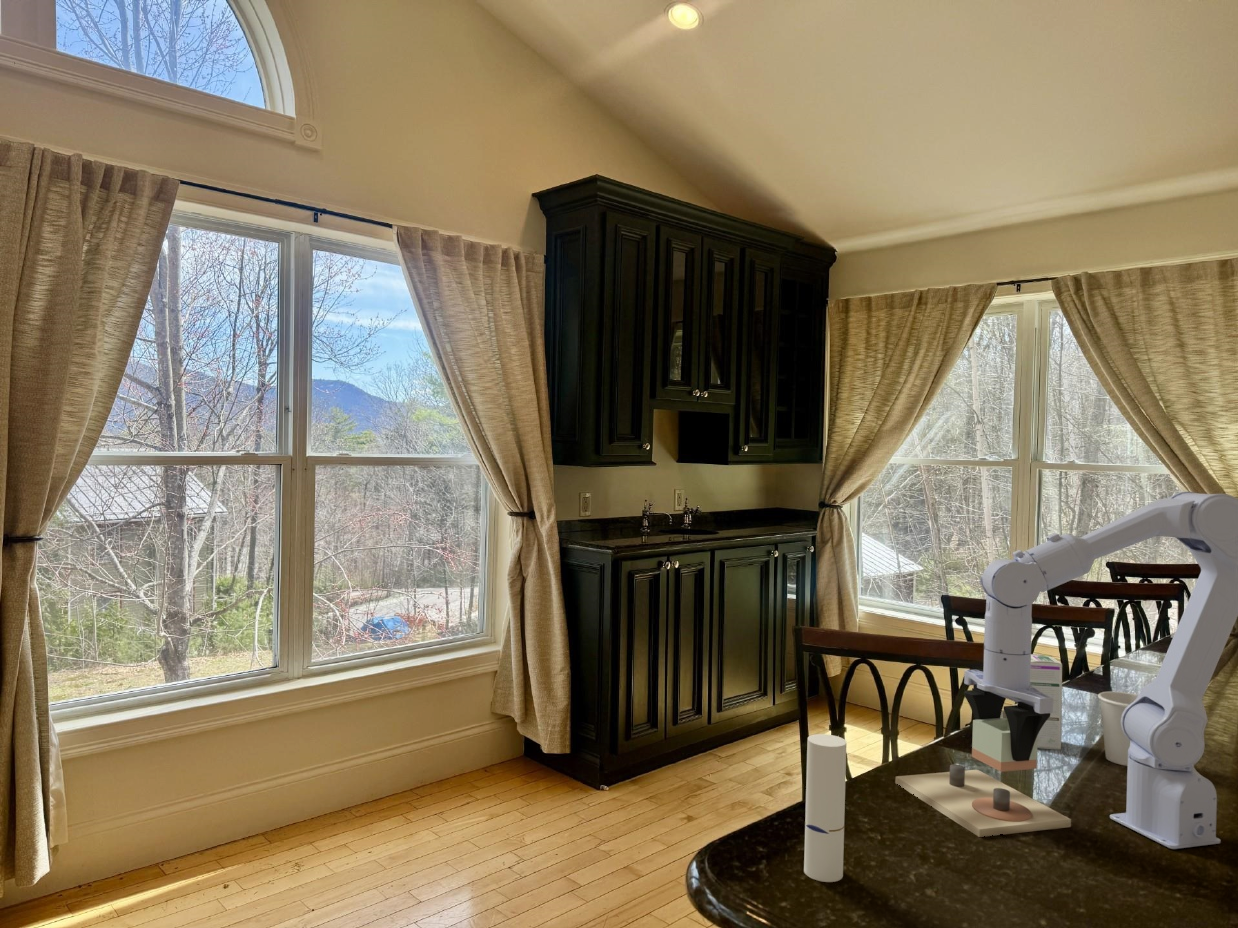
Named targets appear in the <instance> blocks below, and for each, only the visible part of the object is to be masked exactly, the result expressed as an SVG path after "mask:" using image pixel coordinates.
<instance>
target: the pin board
mask: <svg viewBox="0 0 1238 928" xmlns="http://www.w3.org/2000/svg"><path fill="white" fill-rule="evenodd" d="M894 782H895V784H896V785H897V784H898V785H897V786H899V785H900V786H901V787H900V786H899V787H900V788H902V789H903V788H904V790H906V791H907V792H908V793H909V794H912V795H913V794H914V795H913V796H915V797H916V798H917V797H918V798H917V799H919V800H921V801H922V802H924V803H925V804H927V805H928V806H930V807H931V806H932V808H933V809H935V810H936V811H938V812H939V813H941V814H943V815H944V816H946V817H948V819H950V820H952V821H953V822H955V823H956V824H958V825H959V826H961V827H963V828H965V829H966V830H968V831H969V832H970V833H973V835H975V836H977V837H978V838H982V837H984V836H985V837H990V836H991V837H993V836H1000V834H1003V835H1011V834H1019V833H1020V834H1021V833H1028V832H1037V831H1046V830H1057V829H1064V828H1071V827H1072V819H1071V818H1070V817H1068V816H1065V815H1063V814H1062V813H1060V812H1058V811H1057V810H1054V809H1052V808H1050V807H1049V806H1047V805H1046V804H1043V803H1042V802H1039V801H1038V800H1035V799H1033V798H1031V797H1029V796H1028V795H1026V794H1024V793H1023V792H1020V791H1019V790H1016V789H1015V788H1013V787H1011V786H1010V785H1008V784H1006V783H1003V782H1002V781H1000V780H998V779H996V778H994V777H992V776H991V775H988V774H987V773H984V772H983V771H981V770H979V769H969V770H966V767H965V766H963V765H961V764H956V763H955V764H954V763H953V764H950V765H949V771H945V772H936V773H935V772H931V773H922V774H910V775H898V776H895V781H894ZM992 835H993V836H992ZM985 837H984V838H985Z"/></svg>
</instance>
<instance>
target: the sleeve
mask: <svg viewBox="0 0 1238 928" xmlns="http://www.w3.org/2000/svg"><path fill="white" fill-rule="evenodd" d="M971 738H972V743H971V747H972V748H971V757H972V758H974V759H976V760H977V761H979V762H980V763H984V764H985V765H987V766H989V767H991V768H993V769H995V770H996V771H998V772H1013V771H1023V770H1024V771H1025V770H1037V768H1038V748H1037V745H1038V735H1037V738H1036V740H1035V743H1034V746H1033V749H1032V752H1031V755H1030V758H1029V761H1015V760H1013V758H1012V753H1011V735H1010V728H1009V723H1008V720H1007V717H1000V718H995V719H980V720H975V719H973V720H972V737H971Z"/></svg>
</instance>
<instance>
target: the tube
mask: <svg viewBox="0 0 1238 928" xmlns="http://www.w3.org/2000/svg"><path fill="white" fill-rule="evenodd" d="M806 746H807V750H806V777H805V778H806V782H805V783H806V786H805V788H806V789H805V815H804V817H805V821H804V851H803V852H804V856H803V857H804V860H803V873H804V874H805V875H806V876H807V877H809V878H810V879H812V880H814V881H815V880H816V881H818V882H825V883H833V882H834V883H835V882H838V881H840V880H842V879H843V877H844V844H845V814H846V813H845V812H846V811H845V810H846V809H845V807H846V805H845V804H846V801H845V800H846V779H847V778H846V775H847V773H846V772H847V771H846V769H847V767H846V766H847V740H846V739H844V738H843V737H840V736H837V735H832V734H826V733H816V734H812V735H811V734H810V735H809V736H808V737H807V745H806Z"/></svg>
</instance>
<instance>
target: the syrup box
mask: <svg viewBox="0 0 1238 928" xmlns="http://www.w3.org/2000/svg"><path fill="white" fill-rule="evenodd" d="M1030 685H1031V686H1033V687H1034V688H1036V689H1037V690H1039V691H1041V692H1042V693H1044V694H1045V695H1047V696H1049V697H1052V698H1053V713H1050V717H1049V718H1048V719H1047V721H1046V722H1045V723H1044V725H1043V726H1042V728H1041V730H1040V731H1039V733H1038V745H1037V749H1044V750H1045V749H1047V750H1061V749H1062V735H1063V734H1062V730H1063V729H1062V727H1063V726H1062V725H1063V724H1062V723H1063V722H1062V721H1063V720H1062V719H1063V713H1062V712H1063V711H1062V710H1063V663H1062V662H1061V661H1059V660H1057V658H1055V657H1053V656H1051V655H1046V654H1037V653H1035V654H1033V653H1031V669H1030Z"/></svg>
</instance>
